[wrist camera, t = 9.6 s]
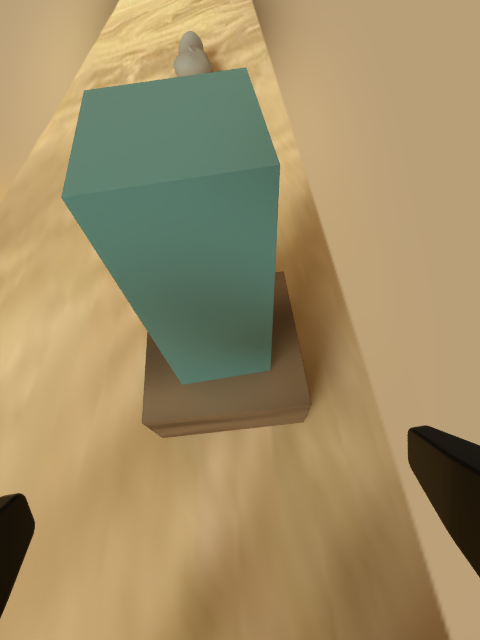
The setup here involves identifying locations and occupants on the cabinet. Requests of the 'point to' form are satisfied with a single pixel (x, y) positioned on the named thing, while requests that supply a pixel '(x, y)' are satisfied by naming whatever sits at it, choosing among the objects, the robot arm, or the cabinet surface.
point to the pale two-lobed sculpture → (191, 57)
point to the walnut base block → (231, 387)
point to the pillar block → (184, 214)
